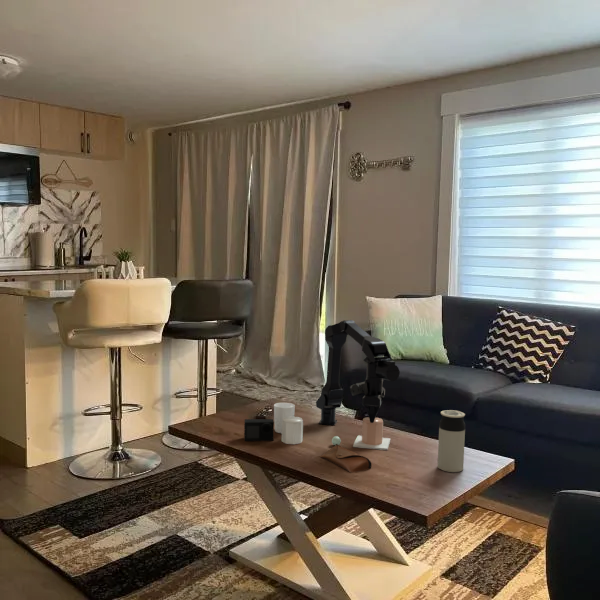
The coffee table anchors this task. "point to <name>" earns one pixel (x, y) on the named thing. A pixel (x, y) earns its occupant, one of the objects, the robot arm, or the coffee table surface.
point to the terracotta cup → (372, 431)
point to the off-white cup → (292, 430)
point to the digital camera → (259, 430)
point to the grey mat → (382, 446)
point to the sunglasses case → (347, 459)
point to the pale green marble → (336, 440)
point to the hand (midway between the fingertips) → (373, 419)
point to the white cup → (282, 414)
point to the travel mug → (451, 441)
